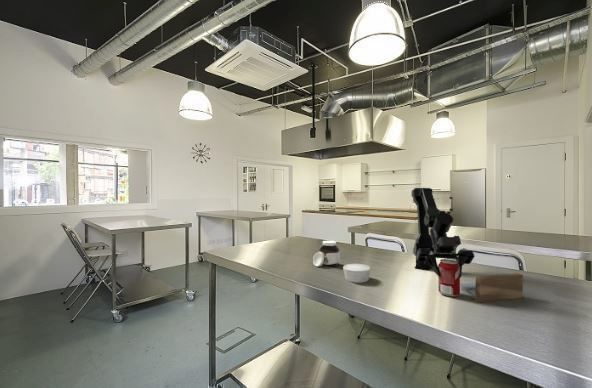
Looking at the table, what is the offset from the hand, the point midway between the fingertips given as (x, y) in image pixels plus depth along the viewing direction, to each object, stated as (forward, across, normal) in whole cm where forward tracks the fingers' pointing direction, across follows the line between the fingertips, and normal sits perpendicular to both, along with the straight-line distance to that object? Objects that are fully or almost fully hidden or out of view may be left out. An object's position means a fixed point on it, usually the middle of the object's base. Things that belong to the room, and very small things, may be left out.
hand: (449, 276), depth 97 cm
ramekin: (-3, -32, +13) cm, 35 cm away
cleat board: (+1, +14, +8) cm, 16 cm away
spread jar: (-16, -46, +27) cm, 56 cm away
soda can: (+4, 0, +6) cm, 7 cm away
